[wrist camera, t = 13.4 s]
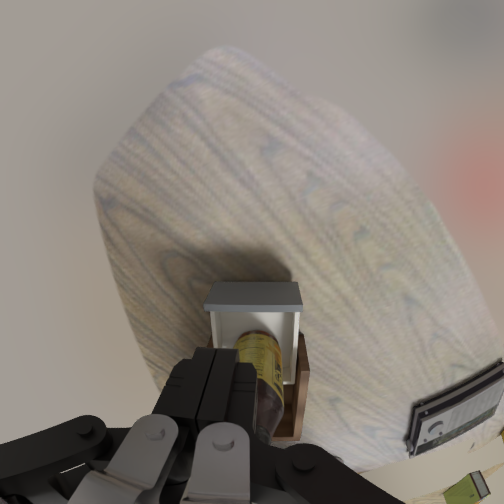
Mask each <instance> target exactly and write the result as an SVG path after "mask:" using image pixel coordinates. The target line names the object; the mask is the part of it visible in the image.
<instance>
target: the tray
mask: <svg viewBox="0 0 504 504" xmlns="http://www.w3.org/2000/svg"><path fill="white" fill-rule="evenodd" d="M203 307H204V311H210V316H211V326H212V336H213V345H214V348H230V349H233V347H234V345H235V343H236V341H237V339H238V338H239V337H240V336H241V335H242V334H243V333H245V332H248V331H253V330H261V331H265V332H267V333H269V334H270V335H272V336H274V337H275V338H276V339H277V341H278V344H279V347H280V349H281V354H282V373H283V384H295V372H296V360H297V346H298V331H299V313H300V312H302V311H303V303H302V299H301V295H300V290H299V286H298V282H214V284H213V286H212V288H211V290H210V292H209V294H208V296H207V298H206V300H205V302H204V304H203Z"/></svg>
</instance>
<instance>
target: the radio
mask: <svg viewBox="0 0 504 504" xmlns="http://www.w3.org/2000/svg"><path fill="white" fill-rule="evenodd" d="M503 392H504V363H503V362H500V363H497V365H496V366H494V367H492V368H491V369H489V370H487V371H486V372H484V373H482V374H481V375H479V376H477V377H475V378H474V379H472V380H470V381H468V382H466V383H464V384H463V385H461V386H459V387H457V388H455V389H453V390H451V391H449V392H447V393H444V394H442V395H440V396H438V397H436V398H434V399H431V400H429V401H427V402H425V403H423V402H422V403H420V405H417V406H415V407H414V410H413V416H412V422H411V428H410V433H409V438H408V440H407V448H408V451H409V458H410V459H411V458H413V457H415V456H417V455H420V454H422V453H425V452H427V451H429V450H431V449H434V448H436V447H438V446H440V445H442V444H444V443H446V442H448V441H450V440H452V439H454V438H456V437H458V436H460V435H462V434H463V433H465V432H467V431H469V430H471V429H472V428H474V427H476V426H477V425H479V424H481V423H483V422H484V421H486V420H487V419H489V418H490V417H492V416H493V415H494V414H495V411H496V409H497V407H498V405H499V402H500V400H501V397H502V395H503Z"/></svg>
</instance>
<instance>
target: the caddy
mask: <svg viewBox="0 0 504 504" xmlns="http://www.w3.org/2000/svg"><path fill="white" fill-rule="evenodd" d="M207 347H208V348H214V345H213V336H212V335H211V338H210V340H209V343H208V346H207ZM309 374H310V368H309V363H308V357H307V351H306V345H305V340H304V334H303V335H298V346H297V360H296V372H295V384H283V396H284V414H283V417H282V419H281V420H280V422H279V424H278V426H277V428H276V430H275V432H274V434H273V436H272V438H271V440H272V441H298V440H300V437H301V431H302V424H303V418H304V411H305V405H306V397H307V390H308V382H309Z"/></svg>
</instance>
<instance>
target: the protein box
mask: <svg viewBox="0 0 504 504" xmlns="http://www.w3.org/2000/svg"><path fill="white" fill-rule="evenodd" d="M443 494H444V497H445V500H446V503H447V504H478V503H480V502H481V501H482V500H484V499H485V498H486V497H487V496H489V495H490V494H491V493H490V491H489V489H488V486H487V484H486V482H485V480H484V478H483V476H482V474H481V472H480V471H476V472H472V473H469V474H468V475H467V476H465V477H464V478H463V479H462V480H460V481H459V482H458V483H456V484H455V485H454V486H453V487H451V488H450V489H449V490H447V491H446V492H444V493H443Z"/></svg>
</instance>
